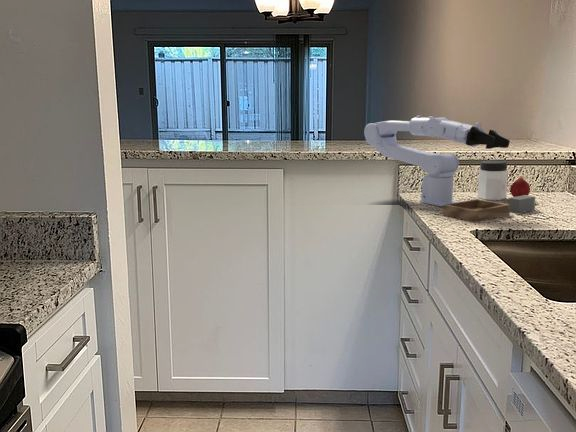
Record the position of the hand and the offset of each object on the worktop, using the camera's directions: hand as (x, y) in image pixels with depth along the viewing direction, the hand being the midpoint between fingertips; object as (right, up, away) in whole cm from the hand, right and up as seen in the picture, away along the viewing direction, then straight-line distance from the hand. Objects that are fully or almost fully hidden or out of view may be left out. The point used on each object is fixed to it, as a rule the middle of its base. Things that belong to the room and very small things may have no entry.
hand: (501, 142), depth 164 cm
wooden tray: (-6, -20, +3) cm, 22 cm away
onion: (+14, -16, +21) cm, 30 cm away
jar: (+7, -15, +28) cm, 32 cm away
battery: (+9, -19, +8) cm, 22 cm away
